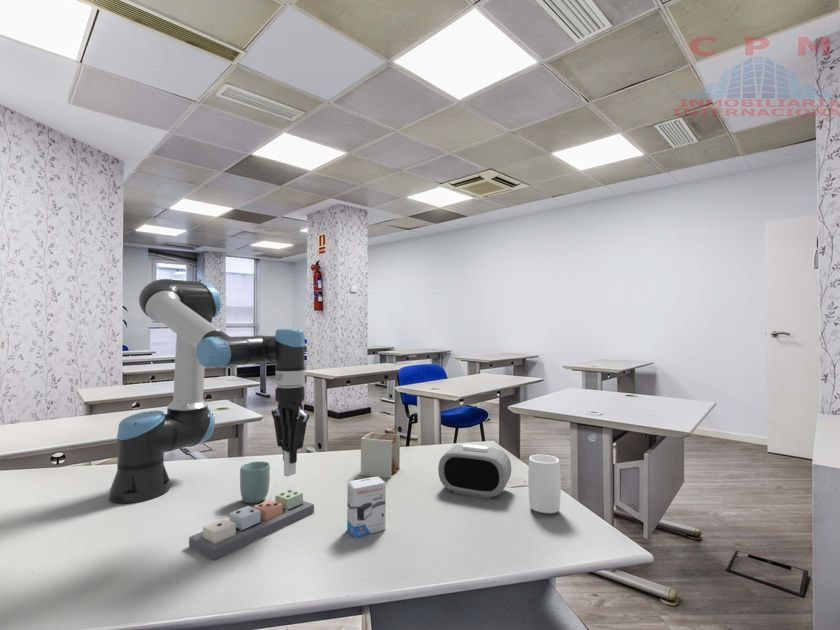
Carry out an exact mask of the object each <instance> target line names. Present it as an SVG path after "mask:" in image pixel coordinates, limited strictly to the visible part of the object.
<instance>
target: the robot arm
mask: <svg viewBox="0 0 840 630" xmlns="http://www.w3.org/2000/svg"><path fill="white" fill-rule="evenodd" d="M216 288H217V287H215V286H214V285H212V284H211V283H208V282H203V281H202V282H201V281H194V280H193V281H192V280H180V279H179V280H178V279H171V278H159V279H156V280H153V281H151V282H149V283H148V284H146V285H145V286H144V287H143V288H142V290H141V292H140V294H139V297H138V303H139V306H140V309H141V311H142V312H143V314H145V315H146V317H148V318H150V319H151V320H152V321H155V322H161V323H162V324H163V325H165V326H166V327H167V328H169V330H171V331H172V332H173V333H175V334H176V335H175V336H176V338H175V339H176V340H175V358H174V359H175V360H174V362H175V363H174V375H173V376H174V381H173V394H172V395H173V399H172V401H171V403H169V404H168V405H167V409H166V411H167V413H165V412H164V411H162V410H151V411H143V412H139V413H135V414H131V415H129V416H126V417H125V418H123V419H122V420H121V421H120V422H119V424H118V430H117V435H116V438H117V455H116V456H117V462H116V463H117V464H116V465H117V466H116V468H117V469H116V473H115V476H114V479H113V480H112V484H111V487H110V489H109V492H108V493H109V495H108V498H109V501H110V502H113V503H116V504H129V503H130V504H131V503H137V502H138V503H139V502H143V501H148V500H151V499H155V498H157V497H160V496H162V495H164V494H166V493H167V492H168V491H170V489H171V480H170V477H169V474H168V472H167V469H166V467H165V463H164V461H165V459H164V458H165V453H168V452H171V451H175V450H180V449H183V448H189V447H194V446H197V445H199V444H202V443H203V444H204V443H205V442H206V441H208V439H210V438H211V437H212V434H213V433H214V430H215V425H216V419H215V416H214V412H213V410H212V409H211V408H210V407H208V402H207V401H205V400H204V389H205V388H204V385H205V368H216V369H217V368H218V369H219V368H223V367H230V366H241V365H244V366H245V365H252V364H253V365H255V364H275V368H274V370H275V385H276V388H275V389H274V391H275V392H274V394H275V395H274V396H275V402H277V408H276V409H273V410H271V412H270V413H271V416H272V419H273V423H274V430H275V437H276V443H277V447H278V448H279V447H280V448H281V450H282V459H283V476H284V477H287V478H288V477H291V476H294V475H295V474H297V461H298V459H297V457H298V450H299V449H302V448H303V446H304V442H305V436H306V428H307V424H308V421H309V419H310V413H309V412H307V413H305V411H304V408H303V401H304V400H305V390H306V389H305V386H304V385H305V383H306V381H305V380H306V379H305V378H306V377H305V376H306V375H305V372H306V371H305V370H306V369H305V351H306V350H305V348H306V341H305V332H304V330H303V329H302V328H278V329H276V330H275V335H262V334H261V335H250V336H230V335H228V334H227V333H225V332H224V331H222V330H220V329H219V328H218V327H216V325H214V324H213V318H215V317H217V316H218V315H219V312H220V311H221V307H222V301H221V296H220V293H219V291H218V290H217V289H216Z"/></svg>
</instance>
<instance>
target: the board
mask: <svg viewBox="0 0 840 630" xmlns="http://www.w3.org/2000/svg"><path fill="white" fill-rule="evenodd" d="M314 513H315V504H314V503H311V502H309V501H306V500H303V503H302V504H300V505H298V506H295V507H293V508H292V509H291V510H290V509H289V511H288V510H286V509H283V514H281V515H279V516H277V517H275V518H272V519H270V520H268V521H266V522H265V521H263V520H261V519H260V522H259V523H257V524H255V525H252V526H250V527H249V528H247V529H244V531H243V530H242V531H241V530H240V529H238V528H236V535H234V536H232V537H230V538H227V539H225V540H223V541H221V542H218V543H216V544H213V543H211V542H209V541H207V540H205V539H203V531H200V532H199V533H198V532H197V533H196V534H193V535H191V536H188V547H189V548H191V549H192V550H194V551H196V552H197V553H199V554H201V555H203V556H205V557H206V558H208V559H210V560H211V561H216V560H218V559H220V558H222V557H224V556H226V555H228V554H230V553H232V552H234V551H236V550H238V549H240V548H243V547H245V546H247V545H249V544H251V543H254V542H256V541H258V540H260V539H262V538H264V537H266V536H269V535H270V534H272V533H274V532H277V531H278V530H280V529H283V528H285V527H287V526H289V525H291V524H293V523H295V522H298V521H299V520H301V519H304V518H306V517H308V516H310V515H312V514H314Z"/></svg>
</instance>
